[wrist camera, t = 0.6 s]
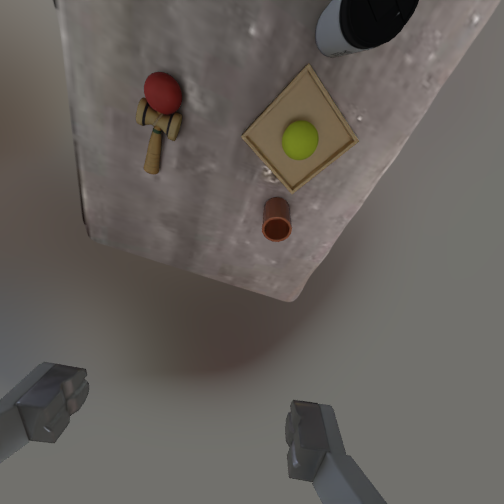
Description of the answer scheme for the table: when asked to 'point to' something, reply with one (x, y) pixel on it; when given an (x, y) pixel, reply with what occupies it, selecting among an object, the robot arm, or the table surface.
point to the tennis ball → (300, 140)
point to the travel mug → (360, 24)
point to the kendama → (159, 114)
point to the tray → (295, 109)
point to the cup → (276, 220)
